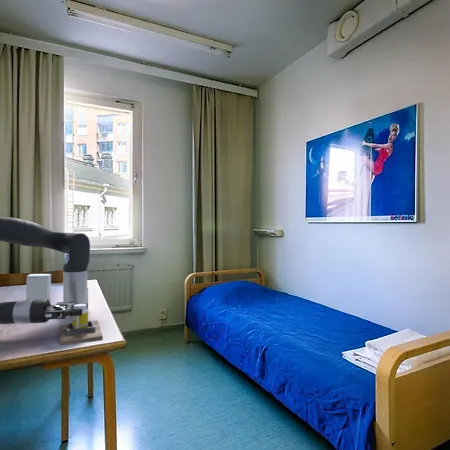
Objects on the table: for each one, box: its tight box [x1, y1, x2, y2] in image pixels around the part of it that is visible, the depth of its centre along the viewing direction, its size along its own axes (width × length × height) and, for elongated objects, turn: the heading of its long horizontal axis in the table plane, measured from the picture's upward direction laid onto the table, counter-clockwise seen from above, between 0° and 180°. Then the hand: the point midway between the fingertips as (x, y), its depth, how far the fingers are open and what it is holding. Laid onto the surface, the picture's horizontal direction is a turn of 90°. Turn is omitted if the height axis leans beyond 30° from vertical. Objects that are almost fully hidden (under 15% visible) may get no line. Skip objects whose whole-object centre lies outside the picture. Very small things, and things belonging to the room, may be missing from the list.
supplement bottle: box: [71, 304, 89, 329], centre depth 112 cm, size 5×5×8 cm
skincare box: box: [25, 273, 52, 302], centre depth 142 cm, size 8×7×16 cm
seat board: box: [59, 319, 103, 346], centre depth 112 cm, size 20×12×2 cm, turn 25°
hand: (85, 308), depth 112 cm, fingers open, 8 cm apart
